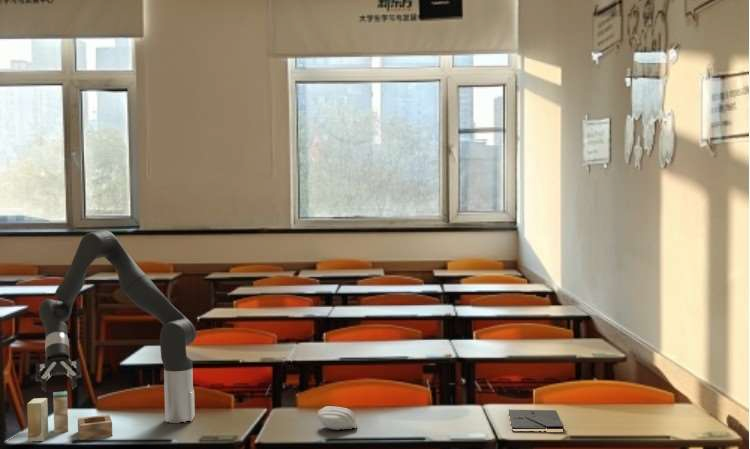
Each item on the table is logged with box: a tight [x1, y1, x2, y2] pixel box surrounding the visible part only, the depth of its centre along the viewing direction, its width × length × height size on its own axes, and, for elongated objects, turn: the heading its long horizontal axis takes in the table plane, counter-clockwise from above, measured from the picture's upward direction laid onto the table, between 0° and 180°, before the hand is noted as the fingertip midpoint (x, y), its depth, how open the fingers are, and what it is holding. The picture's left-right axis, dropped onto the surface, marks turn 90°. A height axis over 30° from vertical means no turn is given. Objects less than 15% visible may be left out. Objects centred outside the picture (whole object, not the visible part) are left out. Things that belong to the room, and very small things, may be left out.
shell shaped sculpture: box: [317, 405, 358, 431], centre depth 253 cm, size 13×13×6 cm
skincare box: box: [26, 397, 50, 442], centre depth 246 cm, size 6×4×12 cm
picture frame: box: [507, 409, 565, 431], centre depth 257 cm, size 16×3×21 cm
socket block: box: [77, 414, 113, 441], centre depth 252 cm, size 10×10×4 cm
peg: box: [52, 390, 69, 434], centre depth 256 cm, size 4×4×12 cm
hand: (59, 389), depth 262 cm, fingers open, 8 cm apart
